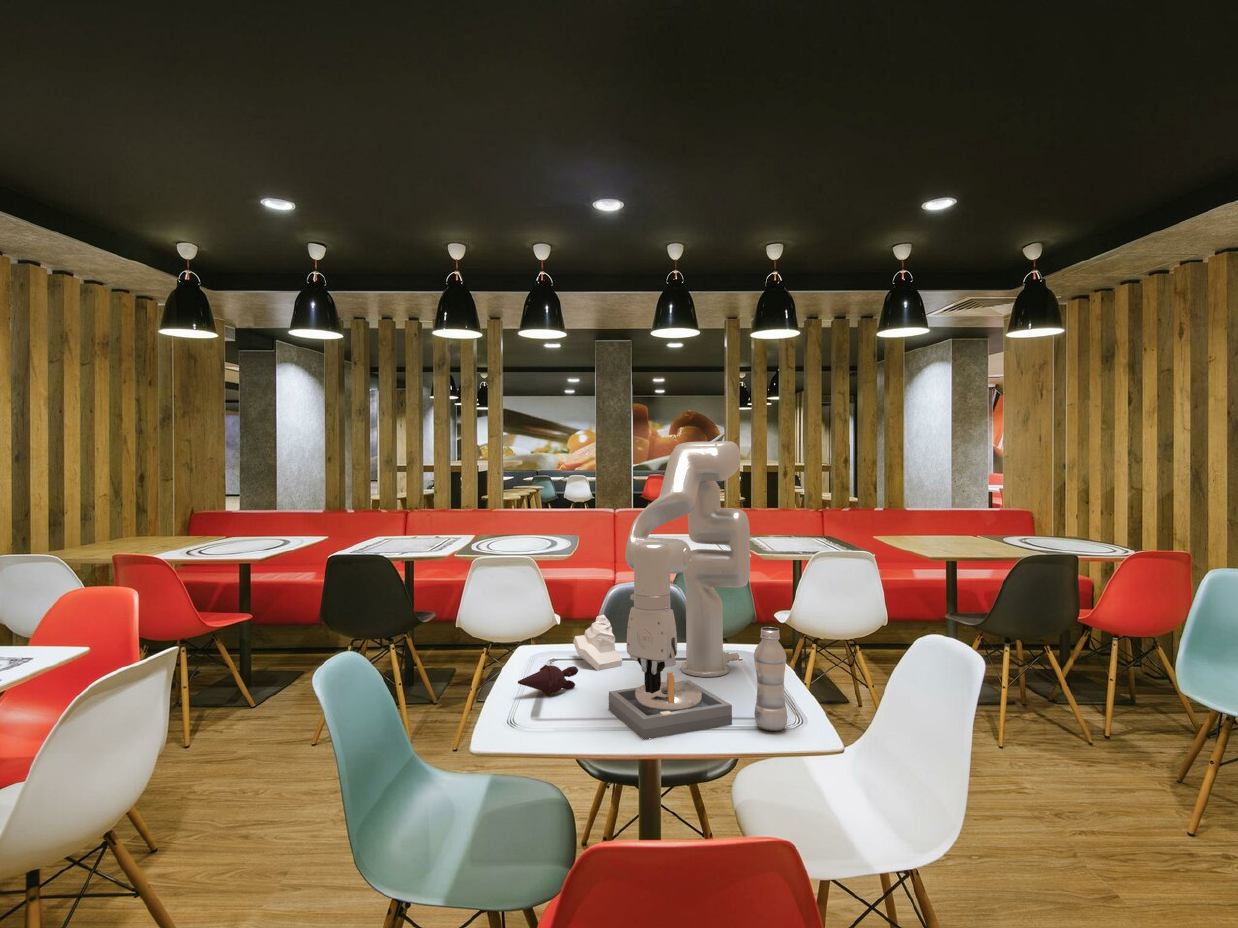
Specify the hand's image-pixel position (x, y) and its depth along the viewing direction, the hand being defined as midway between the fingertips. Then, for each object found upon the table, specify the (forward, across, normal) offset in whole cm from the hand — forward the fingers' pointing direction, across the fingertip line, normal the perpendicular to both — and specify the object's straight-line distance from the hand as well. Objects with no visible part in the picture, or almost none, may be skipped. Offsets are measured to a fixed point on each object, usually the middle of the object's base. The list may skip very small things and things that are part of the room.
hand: (652, 690), depth 138 cm
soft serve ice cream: (+7, -37, +28) cm, 47 cm away
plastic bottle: (+7, +21, +12) cm, 25 cm away
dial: (+5, +1, +5) cm, 7 cm away
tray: (+7, +1, +5) cm, 8 cm away
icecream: (+7, -30, +1) cm, 31 cm away
